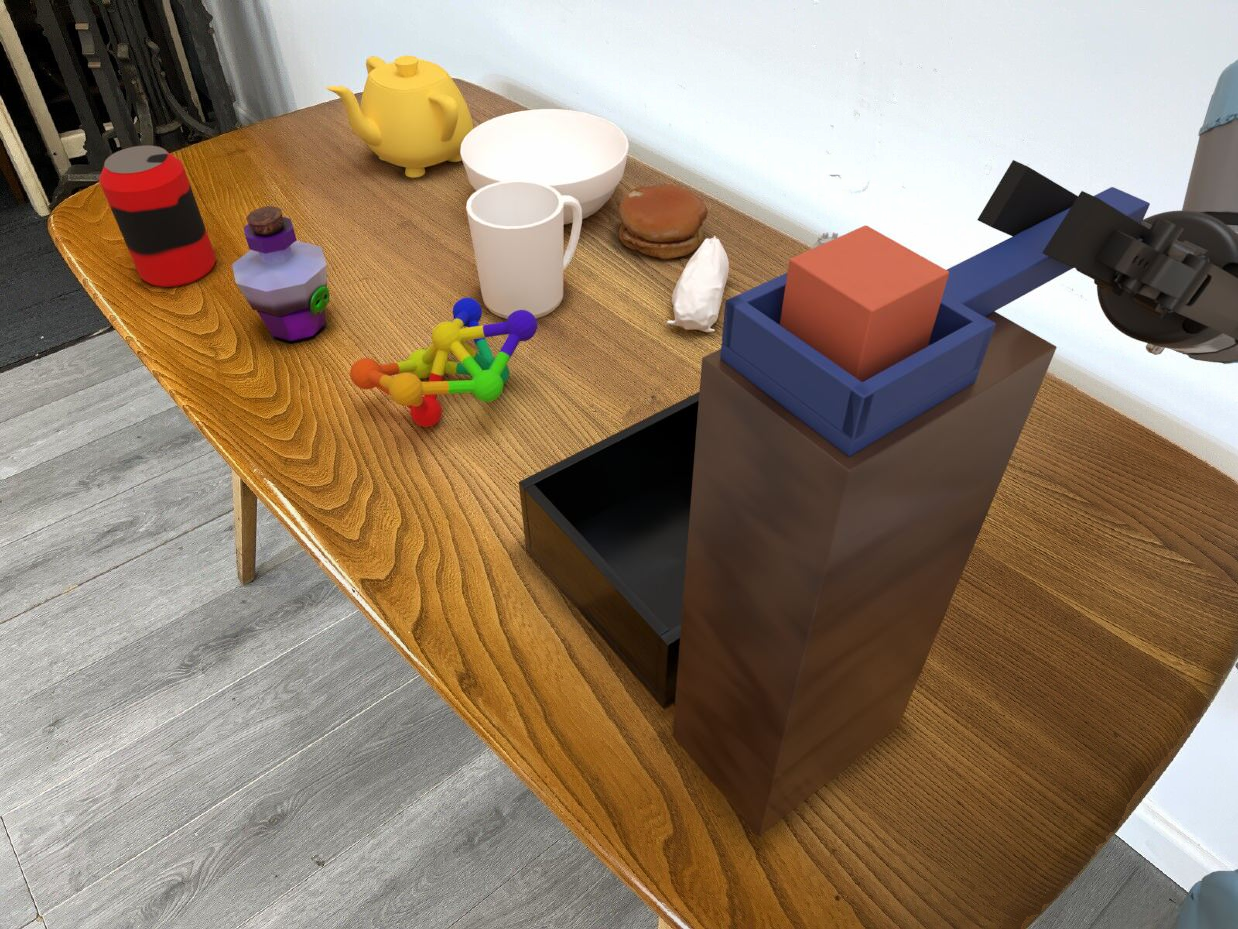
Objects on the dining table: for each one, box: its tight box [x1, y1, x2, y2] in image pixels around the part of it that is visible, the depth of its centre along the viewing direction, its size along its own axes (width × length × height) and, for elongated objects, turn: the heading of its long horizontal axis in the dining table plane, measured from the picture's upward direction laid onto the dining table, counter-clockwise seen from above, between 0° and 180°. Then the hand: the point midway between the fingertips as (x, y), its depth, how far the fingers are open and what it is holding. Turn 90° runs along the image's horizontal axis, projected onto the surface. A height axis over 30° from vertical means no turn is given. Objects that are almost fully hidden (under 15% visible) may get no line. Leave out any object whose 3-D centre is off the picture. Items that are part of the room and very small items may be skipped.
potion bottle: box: [231, 205, 331, 345], centre depth 84 cm, size 9×9×12 cm
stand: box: [672, 311, 1058, 837], centre depth 47 cm, size 8×12×30 cm, turn 126°
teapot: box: [325, 55, 474, 178], centre depth 109 cm, size 14×14×12 cm
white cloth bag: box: [666, 235, 730, 333], centre depth 89 cm, size 5×7×10 cm
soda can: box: [98, 145, 217, 288], centre depth 91 cm, size 8×8×12 cm
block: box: [780, 225, 949, 382], centre depth 34 cm, size 4×4×4 cm
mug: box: [465, 180, 583, 320], centre depth 88 cm, size 11×9×10 cm
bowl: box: [460, 108, 630, 225], centre depth 102 cm, size 18×18×7 cm
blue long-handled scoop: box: [720, 186, 1151, 456], centre depth 38 cm, size 7×22×3 cm, turn 126°
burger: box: [618, 184, 708, 260], centre depth 98 cm, size 10×9×5 cm
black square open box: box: [518, 391, 700, 711], centre depth 65 cm, size 17×17×7 cm
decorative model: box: [349, 297, 538, 428], centre depth 78 cm, size 13×9×15 cm
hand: (1035, 209), depth 38 cm, fingers open, 3 cm apart
